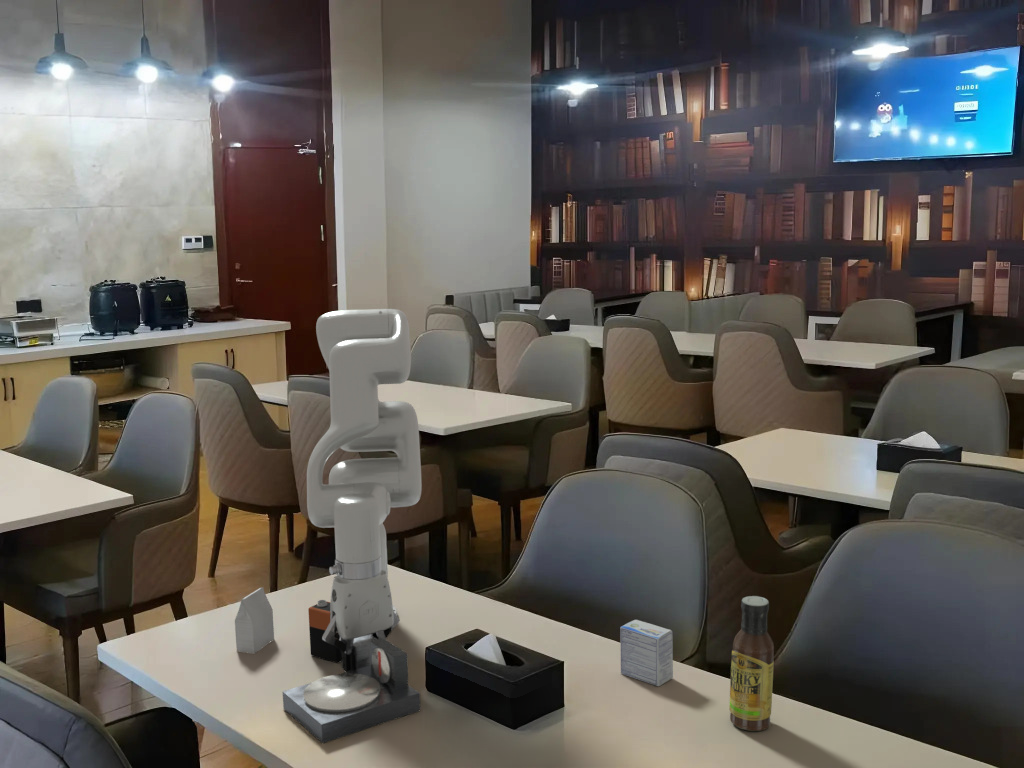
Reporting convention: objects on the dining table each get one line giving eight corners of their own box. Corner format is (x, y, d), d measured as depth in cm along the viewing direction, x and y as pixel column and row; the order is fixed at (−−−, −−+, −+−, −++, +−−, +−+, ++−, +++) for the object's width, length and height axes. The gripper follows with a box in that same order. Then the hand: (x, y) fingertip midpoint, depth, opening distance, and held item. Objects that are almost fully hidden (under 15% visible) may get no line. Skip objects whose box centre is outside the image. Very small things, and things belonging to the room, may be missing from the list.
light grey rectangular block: (345, 672, 183) (344, 639, 182) (368, 665, 185) (367, 632, 184) (358, 681, 179) (356, 647, 178) (381, 674, 182) (380, 640, 181)
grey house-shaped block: (274, 639, 198) (271, 588, 196) (254, 653, 191) (251, 600, 190) (257, 637, 199) (253, 586, 197) (236, 651, 192) (233, 598, 191)
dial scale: (283, 709, 170) (280, 657, 168) (377, 680, 179) (375, 631, 178) (322, 743, 158) (319, 688, 157) (420, 710, 168) (418, 658, 167)
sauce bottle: (721, 723, 162) (722, 599, 159) (744, 710, 166) (747, 588, 163) (756, 738, 157) (759, 610, 154) (780, 724, 162) (783, 599, 158)
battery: (338, 664, 186) (335, 609, 184) (309, 656, 190) (306, 602, 188) (354, 655, 190) (352, 601, 188) (326, 647, 193) (323, 595, 192)
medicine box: (673, 679, 178) (673, 630, 176) (658, 688, 174) (658, 638, 173) (635, 666, 183) (635, 618, 182) (619, 674, 180) (619, 626, 178)
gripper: (323, 584, 171) (328, 690, 174) (413, 562, 181) (417, 663, 184) (303, 572, 177) (308, 675, 180) (391, 551, 187) (395, 649, 190)
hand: (363, 668), depth 182 cm, fingers closed on light grey rectangular block, 4 cm apart
